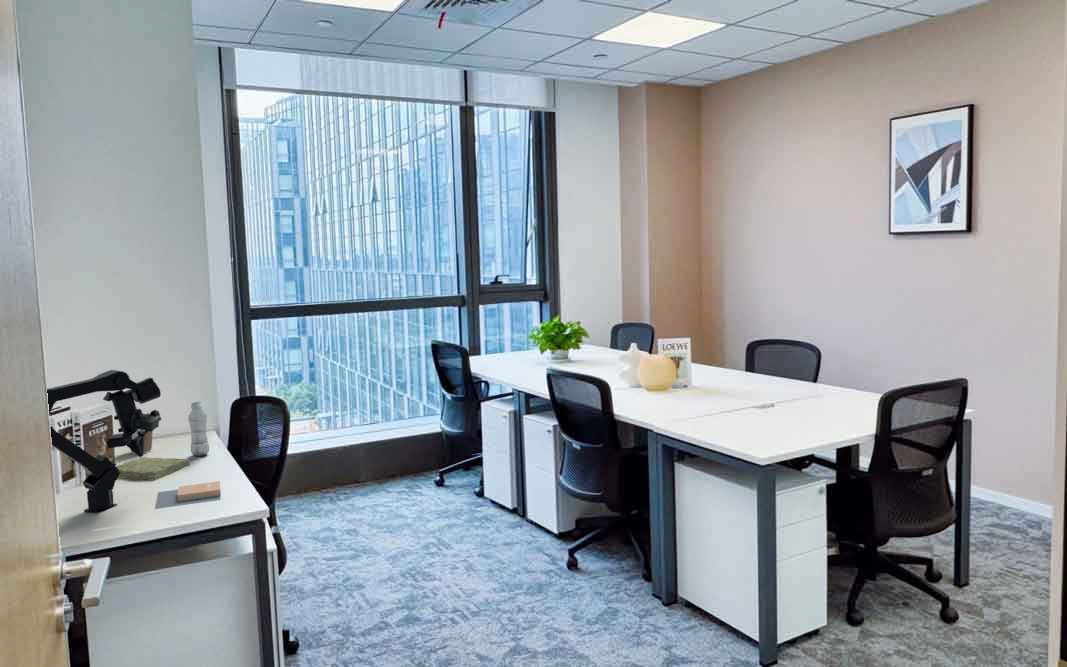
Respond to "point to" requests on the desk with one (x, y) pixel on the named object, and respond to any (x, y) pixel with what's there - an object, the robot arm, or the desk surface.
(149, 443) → the coffee cup
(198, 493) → the tile
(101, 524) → the desk surface
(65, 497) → the desk surface
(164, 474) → the decorative tile
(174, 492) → the mat
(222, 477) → the desk surface
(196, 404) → the plastic bottle
